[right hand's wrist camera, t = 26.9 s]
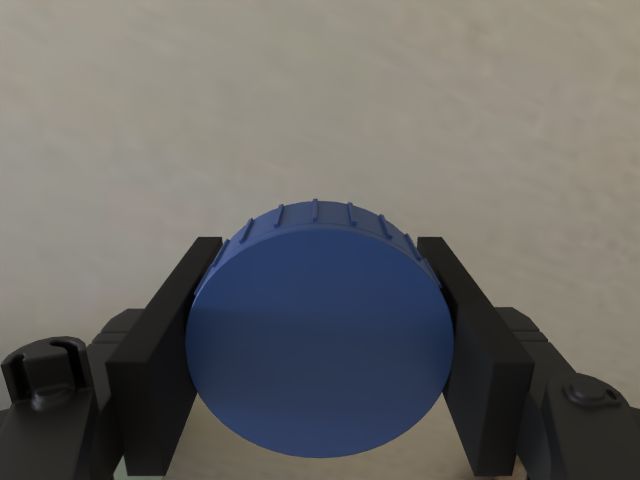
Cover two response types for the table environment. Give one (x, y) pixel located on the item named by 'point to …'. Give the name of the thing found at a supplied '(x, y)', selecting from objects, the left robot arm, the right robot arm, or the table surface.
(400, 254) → the lid
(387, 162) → the table surface
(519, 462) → the stone
